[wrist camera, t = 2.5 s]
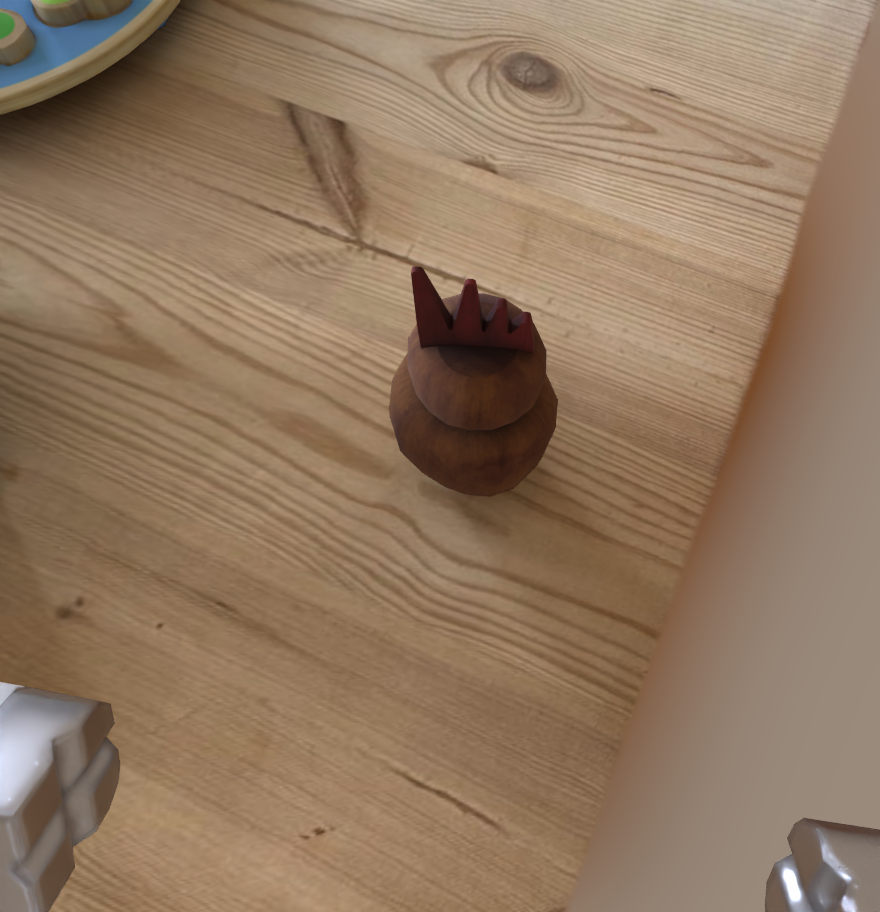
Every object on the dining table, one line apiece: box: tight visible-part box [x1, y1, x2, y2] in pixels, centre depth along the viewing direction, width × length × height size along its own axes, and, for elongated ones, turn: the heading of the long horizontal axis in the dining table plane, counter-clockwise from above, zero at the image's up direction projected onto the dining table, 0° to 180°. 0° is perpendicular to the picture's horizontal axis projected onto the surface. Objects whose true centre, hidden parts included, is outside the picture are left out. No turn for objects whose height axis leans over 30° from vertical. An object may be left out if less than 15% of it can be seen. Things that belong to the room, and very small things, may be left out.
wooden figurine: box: [389, 267, 558, 497], centre depth 27 cm, size 7×6×15 cm
